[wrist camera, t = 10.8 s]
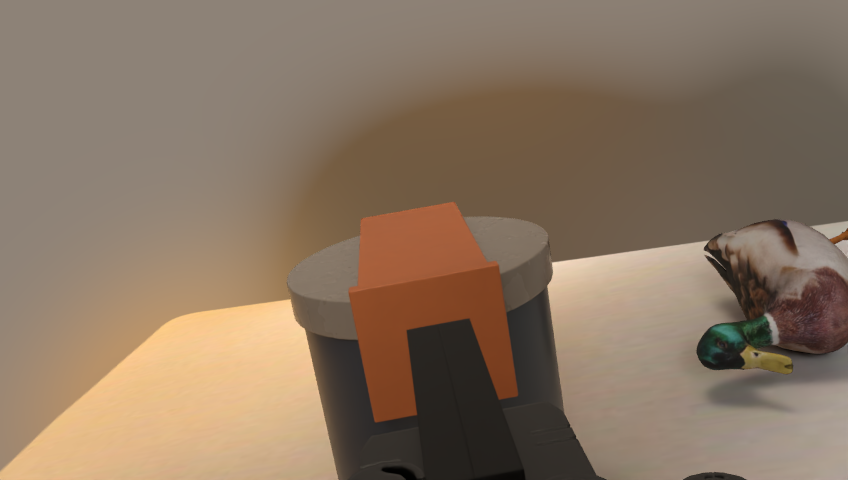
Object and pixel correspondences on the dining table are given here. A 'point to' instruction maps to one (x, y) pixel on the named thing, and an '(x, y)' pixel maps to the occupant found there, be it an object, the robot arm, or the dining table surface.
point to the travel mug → (339, 349)
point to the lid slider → (423, 300)
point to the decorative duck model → (778, 295)
